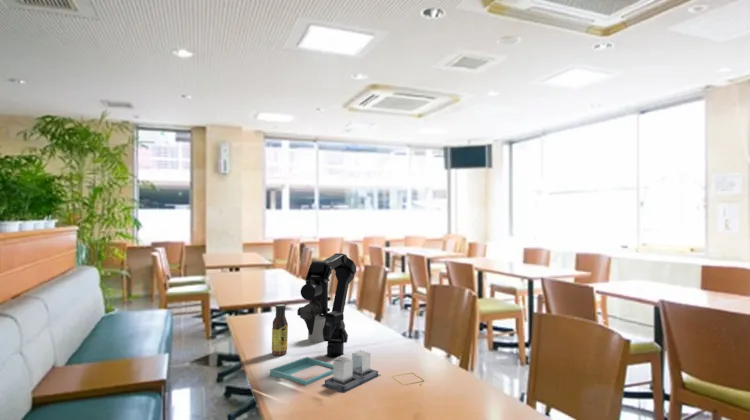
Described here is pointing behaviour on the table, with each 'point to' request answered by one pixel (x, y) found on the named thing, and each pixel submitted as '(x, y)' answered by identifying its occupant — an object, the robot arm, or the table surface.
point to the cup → (317, 330)
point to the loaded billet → (361, 363)
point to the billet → (342, 370)
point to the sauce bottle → (279, 331)
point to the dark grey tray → (355, 382)
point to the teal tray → (298, 366)
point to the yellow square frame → (409, 383)
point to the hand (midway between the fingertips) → (319, 336)
